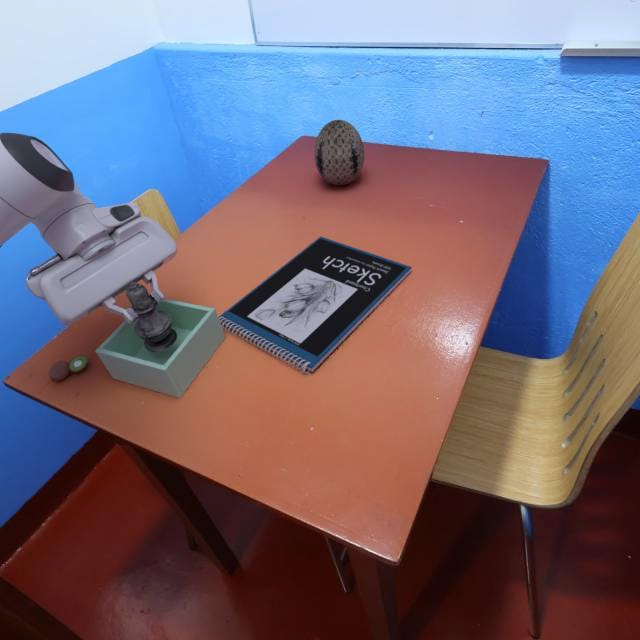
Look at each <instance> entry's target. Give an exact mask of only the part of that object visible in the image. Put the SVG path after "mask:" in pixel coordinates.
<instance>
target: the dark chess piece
mask: <svg viewBox="0 0 640 640" xmlns="http://www.w3.org/2000/svg"><path fill="white" fill-rule="evenodd" d="M130 285H131V286H130V287H128V289H127V290H125V295H126V297H127V299H128V300H129V302H130V304H131V307H132V308H133V310H134V312H136V313H137V314H138V316H139V317H138V319H139V320H138V321H137V323H136V324H135V327H134V332H135V334H136V335H137V336H139V337H140V338H142V339H143V340H145V342H144V345H145V348H146V349H147V350H149V351H152V352H158V351H162V350H165V349H167V348H169V347H170V346H171V345H173V344H174V342H175V341H176V339H177V333H176V331H175V330H174V329H172V328H171V325H172V324H171V321H172V318H171V316H170V314H168V313H167V312H163V311H157V309H156V307H155V303H156V302H155V300H154V299H152V298H150V293H149V291H148V289H147V288H146V286H145V285H144V284H142V283H136V284H135V283H134V282H132V281H131V282H130Z"/></svg>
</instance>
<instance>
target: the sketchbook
mask: <svg viewBox="0 0 640 640" xmlns="http://www.w3.org/2000/svg"><path fill="white" fill-rule="evenodd" d="M412 268H413V267H412V266H410V265H407V264H404V263H400V262H398V261H395V260H392V259H388V258H386V257H383V256H380V255H378V254H374V253H371V252H368V251H366V250H363V249H359V248H356V247H353V246H351V245H347V244H344V243H341V242H339V241H335V240H332V239H331V238H327V237H324V236H319V237H318V238H316V239H315V240H314V241H313V242H312V243H310V244H309V245H308V246H306V247H305V248H304V249H302V251H300V252H299V253H297V254H296V255H295V256H294V257H293V258H291V259H290V260H289V261H287V262H286V263H285V264H284V265H282V266H281V267H280V268H279V269H278V270H276V271H275V272H273V273H272V274H271V275H270V276H268V277H267V278H266V279H264V280H263V281H262V282H260V284H258V285H256V287H254V288H253V289H252V290H251V291H249V292H248V293H247V294H246V295H244V296H243V297H242V298H241V299H239V300H238V301H237V302H236V303H234V304H233V305H232V306H231V307H228V309H227V310H225V311H224V312H223V313H221V314H220V315H219V316H218V318H219V321H220V323H221V326H222V328H223V331H224V330H225V331H226V332H228V333H229V334H232V335H233V336H235V337H237V338H239V339H240V340H241V339H242V341H244V342H246V343H248V344H250V345H251V346H252V345H253V346H254V347H256V348H257V349H258V350H259V349H260V350H261V351H264V352H265V353H266V354H267V353H268V355H270V356H271V355H272V357H273V358H276V359H277V360H280V362H284V364H288V366H292V368H294V369H295V368H296V370H297V371H300V372H301V373H303V374H304V375H307V374H309V373H313V372H315V371H316V370H317V369H318V368H319V367H320V365H322V364H323V362H325V361H326V359H327V358H328V357H329V356H330V355H331V354H332V353H333V352H334V351H335V350H336V349H338V347H339V346H340V345H341V344H342V343H343V342H344V341H345V340H346V339H347V338H348V337H349V336H350V335H351V334H352V333H353V332H354V331H355V330H356V329H357V328H358V327H359V326H360V325H361V324H362V323H363V321H365V320H366V319H367V318H368V317H369V315H371V314H372V313H373V312H374V311H375V310H376V309H377V307H378V306H380V304H381V303H382V302H383V301H384V300H385V299H386V298H388V296H389V295H390V294H392V292H393V291H394V290H395V289H396V288H397V287H398V286H399V285H400V284H401V283H402V282H403V281H404V280H405V279H406V278H408V276H409V275H410V274H411V273H412ZM231 330H232V331H231ZM234 332H235V333H234ZM248 339H249V340H248ZM252 341H253V342H252ZM263 347H264V348H263Z"/></svg>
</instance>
